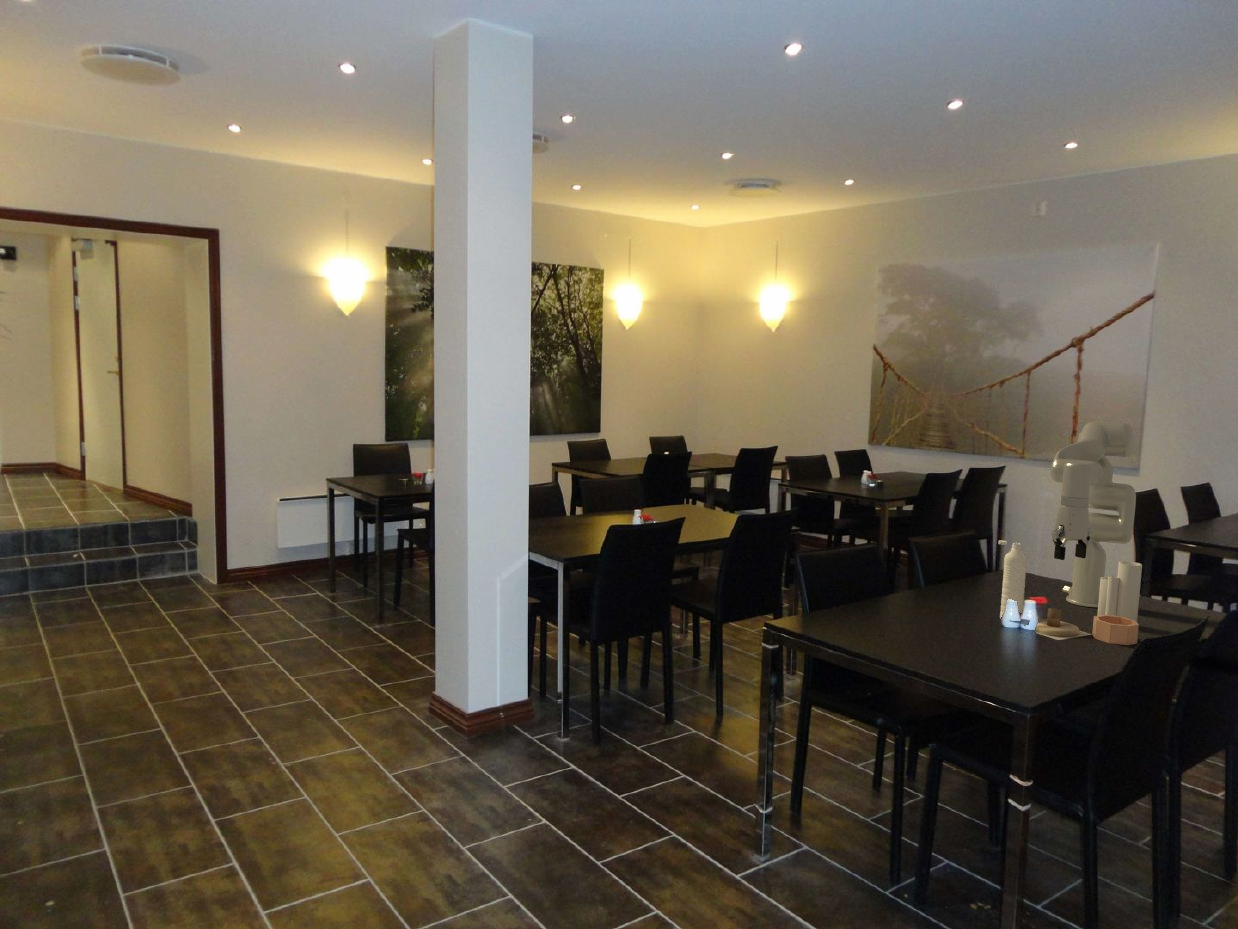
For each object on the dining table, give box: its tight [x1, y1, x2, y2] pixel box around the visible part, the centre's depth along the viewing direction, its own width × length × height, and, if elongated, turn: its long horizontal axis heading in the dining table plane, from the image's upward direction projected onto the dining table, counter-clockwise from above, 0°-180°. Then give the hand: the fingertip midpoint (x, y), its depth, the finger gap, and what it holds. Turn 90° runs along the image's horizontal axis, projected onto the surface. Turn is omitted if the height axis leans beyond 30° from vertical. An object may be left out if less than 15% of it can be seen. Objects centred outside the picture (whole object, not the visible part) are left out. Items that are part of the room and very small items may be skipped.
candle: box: [1096, 560, 1143, 623], centre depth 276 cm, size 11×7×20 cm, turn 50°
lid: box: [1035, 607, 1080, 638], centre depth 266 cm, size 14×14×6 cm
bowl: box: [1091, 615, 1140, 646], centre depth 259 cm, size 11×11×6 cm
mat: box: [1035, 630, 1093, 641], centre depth 266 cm, size 15×15×1 cm
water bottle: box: [998, 540, 1028, 619], centre depth 278 cm, size 9×6×25 cm
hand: (1069, 558), depth 265 cm, fingers open, 9 cm apart
